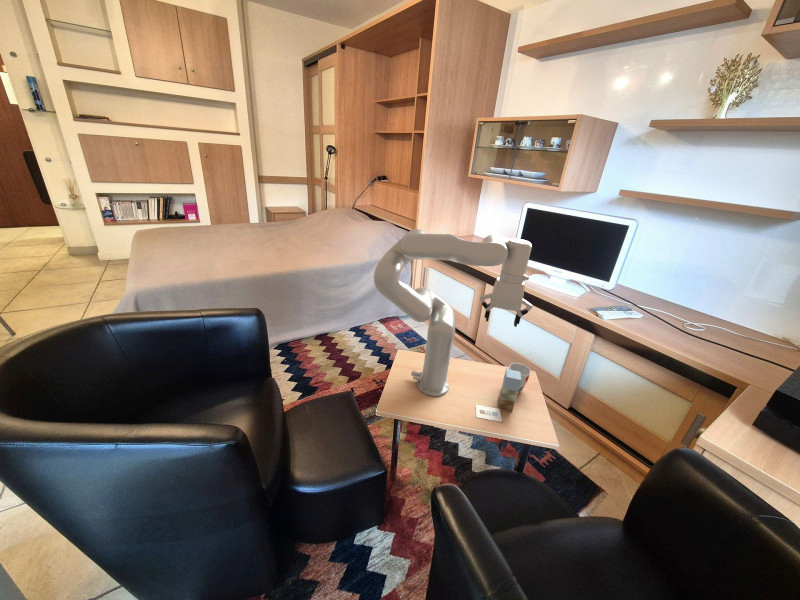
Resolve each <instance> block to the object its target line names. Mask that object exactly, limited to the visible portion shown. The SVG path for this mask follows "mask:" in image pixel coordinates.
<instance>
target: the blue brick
mask: <svg viewBox="0 0 800 600" xmlns="http://www.w3.org/2000/svg"><path fill="white" fill-rule="evenodd" d="M502 380H503V381H502V384H504V388H506V389H510V390H514V391H518V390H519V386H520V383H521V372H519V371H514V370H510V369H509V368H505V373H504V376H503V379H502Z"/></svg>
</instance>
